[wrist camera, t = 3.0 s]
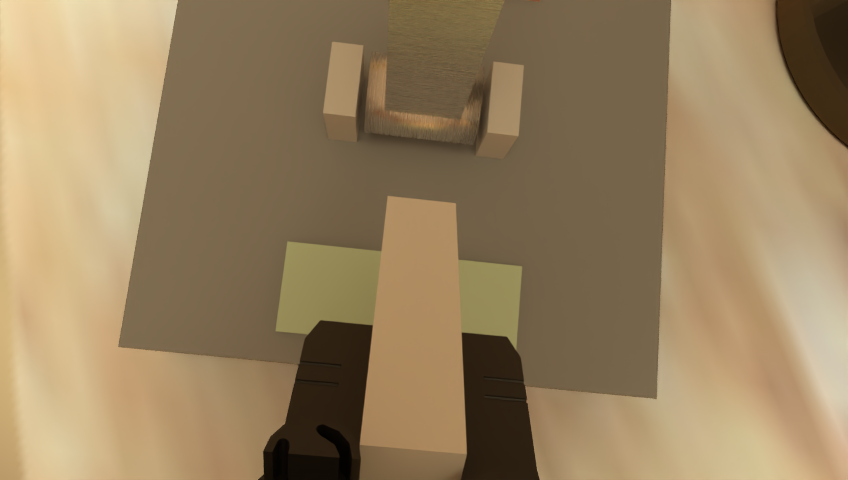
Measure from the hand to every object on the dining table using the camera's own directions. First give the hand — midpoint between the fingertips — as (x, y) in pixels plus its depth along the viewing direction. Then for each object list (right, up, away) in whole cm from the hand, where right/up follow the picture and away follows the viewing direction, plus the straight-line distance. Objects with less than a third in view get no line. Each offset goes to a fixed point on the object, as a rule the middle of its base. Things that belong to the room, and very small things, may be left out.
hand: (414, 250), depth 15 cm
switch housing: (0, +4, +14) cm, 14 cm away
